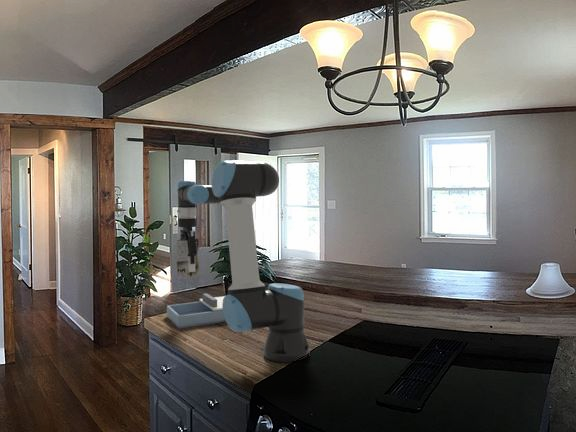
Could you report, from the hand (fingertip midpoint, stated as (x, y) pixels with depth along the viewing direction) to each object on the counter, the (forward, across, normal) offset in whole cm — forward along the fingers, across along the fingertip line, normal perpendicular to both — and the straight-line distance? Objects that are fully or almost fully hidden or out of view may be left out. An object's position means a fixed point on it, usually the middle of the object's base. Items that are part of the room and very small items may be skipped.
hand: (188, 269), depth 184 cm
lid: (+16, 0, +18) cm, 24 cm away
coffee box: (+3, 0, 0) cm, 3 cm away
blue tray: (+22, 0, +3) cm, 22 cm away
